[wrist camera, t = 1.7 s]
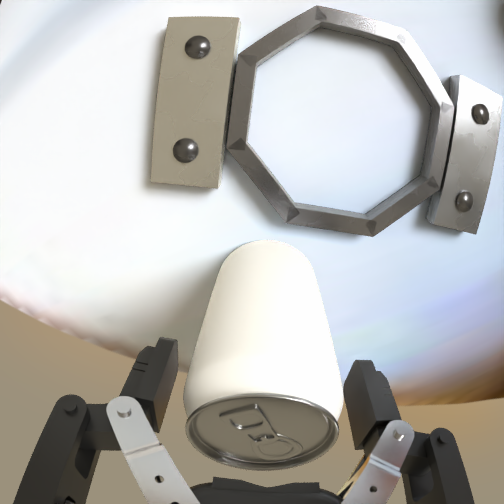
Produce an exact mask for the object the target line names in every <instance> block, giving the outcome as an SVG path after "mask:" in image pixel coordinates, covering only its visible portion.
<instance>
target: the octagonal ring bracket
mask: <svg viewBox="0 0 504 504" xmlns="http://www.w3.org/2000/svg"><path fill="white" fill-rule="evenodd" d="M319 27H321V28H326V29H331V30H335V31H339V32H344V33H348V34H352V35H356V36H359V37H363V38H367V39H370V40H374V41H377V42H380V43H383V44H387V45H390V46H392V47H393V48H394V50H395V51H396V53H397V54H398V55H399V57H400V58H401V60H402V61H403V63H404V64H405V66H406V67H407V69H408V70H409V72H410V73H411V75H412V76H413V78H414V79H415V81H416V82H417V84H418V86H419V87H420V89H421V91H422V92H423V94H424V96H425V97H426V99H427V101H428V102H429V104H430V106H431V116H430V123H429V129H428V136H427V142H426V147H425V153H424V158H423V163H422V168H421V173H420V176H418V177H417V178H416V179H414V180H413V181H411V182H410V183H409V184H407V185H406V186H404V187H403V188H402V189H400V190H399V191H397V192H396V193H395V194H393V195H392V196H390V197H389V198H388V199H386V200H385V201H383V202H382V203H380V204H379V205H378V206H376V207H375V208H373V209H372V210H370V211H369V212H368V213H366V214H362V213H356V212H350V211H345V210H339V209H333V208H327V207H320V206H314V205H308V204H301V203H295V202H294V201H293V200H292V199H291V197H290V196H289V195H288V193H287V192H286V191H285V189H284V188H283V187H282V185H281V184H280V183H279V182H278V180H277V179H276V178H275V176H274V175H273V174H272V172H271V171H270V170H269V169H268V167H267V166H266V165H265V164H264V162H263V161H262V160H261V158H260V157H259V156H258V155H257V153H256V152H255V151H254V150H253V148H252V147H251V146H250V145H249V143H248V142H247V140H248V132H249V124H250V116H251V108H252V101H253V93H254V85H255V78H256V71H257V67H258V66H259V65H260V64H262V63H263V62H265V61H266V60H268V59H269V58H271V57H272V56H274V55H275V54H277V53H278V52H280V51H281V50H283V49H284V48H286V47H287V46H289V45H291V44H292V43H294V42H295V41H297V40H299V39H300V38H302V37H303V36H305V35H307V34H308V33H310V32H312V31H314V30H315V29H317V28H319ZM240 28H241V22H240V19H239V18H235V17H169V19H168V24H167V30H166V36H165V42H164V48H163V54H162V61H161V68H160V76H159V84H158V92H157V101H156V111H155V122H154V134H153V148H152V165H151V182H155V183H167V184H177V185H188V186H197V187H207V188H216V189H218V188H219V186H220V185H221V179H222V169H223V160H224V150H225V141H226V133H227V124H228V116H229V108H230V100H231V92H232V84H233V77H234V69H235V62H236V55H237V48H238V41H239V34H240ZM502 99H503V97H501V96H499V95H498V94H496V93H494V92H492V91H491V90H489V89H487V88H485V87H483V86H481V85H480V84H478V83H476V82H474V81H472V80H470V79H468V78H466V77H464V76H462V75H455V76H451V79H450V91H449V96H448V94H447V92H446V91H445V89H444V87H443V85H442V84H441V82H440V80H439V78H438V77H437V75H436V73H435V72H434V70H433V69H432V67H431V65H430V64H429V62H428V61H427V59H426V58H425V56H424V55H423V53H422V52H421V50H420V49H419V47H418V46H417V44H416V43H415V41H414V40H413V39H412V37H411V36H410V34H409V33H408V32H407V30H404V29H401V28H398V27H396V26H393V25H390V24H387V23H384V22H380V21H377V20H374V19H371V18H367V17H364V16H360V15H356V14H353V13H349V12H345V11H340V10H336V9H332V8H327V7H322V6H317V5H316V6H315V7H313V8H311V9H309V10H307V11H306V12H304V13H302V14H300V15H299V16H297V17H295V18H293V19H292V20H290V21H288V22H287V23H285V24H283V25H282V26H280V27H279V28H277V29H275V30H274V31H272V32H271V33H269V34H268V35H266V36H264V37H263V38H261V39H260V40H258V41H257V42H255V43H254V44H253V45H251V46H250V47H248V48H247V49H245V50H244V51H242V52H241V53H240V54H238V61H237V68H236V75H235V83H234V90H233V98H232V106H231V114H230V122H229V131H228V139H227V148H226V149H227V150H228V151H229V152H230V153H231V155H232V156H233V157H234V158H235V160H236V161H237V162H238V163H239V165H240V166H241V167H242V168H243V169H244V171H245V172H246V173H247V174H248V176H249V177H250V178H251V179H252V181H253V182H254V183H255V184H256V186H257V187H258V188H259V189H260V191H261V192H262V193H263V195H264V196H265V197H266V198H267V200H268V201H269V202H270V203H271V205H272V206H273V207H274V209H275V210H276V211H277V212H278V214H279V215H280V216H281V218H282V219H283V220H284V222H285V223H286V224H293V225H300V226H307V227H314V228H321V229H327V230H334V231H340V232H347V233H353V234H359V235H365V236H371V237H373V236H375V235H376V234H378V233H379V232H381V231H382V230H384V229H385V228H386V227H388V226H389V225H391V224H392V223H394V222H395V221H396V220H398V219H399V218H401V217H402V216H403V215H405V214H406V213H408V212H409V211H410V210H412V209H413V208H415V207H416V206H417V205H419V204H420V203H421V202H423V201H424V200H426V199H427V198H428V197H430V196H431V195H432V196H431V200H430V204H429V208H428V211H427V215H426V219H427V220H428V221H429V222H431V223H432V224H434V225H438V226H442V227H447V228H451V229H455V230H460V231H464V232H468V233H472V234H476V233H477V229H478V226H479V223H480V219H481V216H482V212H483V209H484V205H485V201H486V197H487V193H488V189H489V185H490V180H491V175H492V171H493V166H494V160H495V155H496V149H497V143H498V136H499V129H500V120H501V111H502Z"/></svg>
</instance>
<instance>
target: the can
mask: <svg viewBox="0 0 504 504" xmlns="http://www.w3.org/2000/svg"><path fill="white" fill-rule="evenodd" d="M183 400H184V406H185V410H186V414H187V417H188V419H187V422H186V426H185V427H186V428H185V431H186V435H187V438H188V440H189V441H190V443H191V444H192V445H193V447H194V448H196V449H197V450H198V451H199V452H200V453H202V454H203V455H205V456H206V457H208V458H210V459H212V460H214V461H216V462H218V463H221V464H224V465H228V466H231V467H235V468H240V469H246V470H257V471H271V470H282V469H288V468H293V467H297V466H301V465H304V464H306V463H309V462H311V461H313V460H316V459H317V458H319V457H321V456H322V455H324V454H325V453H326V452H328V451H329V450H330V449H331V448H332V447H333V445H334V444H335V443H336V441H337V438H338V435H339V426H338V423H337V421H338V419H339V416H340V413H341V410H342V406H343V389H342V383H341V378H340V373H339V368H338V364H337V359H336V355H335V350H334V346H333V342H332V338H331V334H330V330H329V326H328V322H327V318H326V314H325V310H324V306H323V302H322V299H321V295H320V291H319V287H318V284H317V280H316V277H315V274H314V271H313V268H312V266H311V264H310V262H309V261H308V259H307V258H306V257H305V256H304V255H303V254H302V253H301V252H300V251H299V250H297V249H296V248H294V247H292V246H291V245H288V244H286V243H283V242H280V241H274V240H258V241H253V242H250V243H247V244H244V245H242V246H240V247H239V248H237V249H236V250H234V251H233V252H232V253H231V254H230V255H229V256H228V257H227V258H226V259H225V261H224V262H223V264H222V266H221V268H220V271H219V273H218V276H217V279H216V282H215V285H214V288H213V292H212V295H211V298H210V301H209V304H208V307H207V311H206V314H205V317H204V320H203V324H202V327H201V330H200V334H199V337H198V340H197V344H196V347H195V350H194V354H193V357H192V361H191V364H190V368H189V371H188V375H187V379H186V383H185V388H184V395H183Z"/></svg>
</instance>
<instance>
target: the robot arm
mask: <svg viewBox="0 0 504 504" xmlns="http://www.w3.org/2000/svg"><path fill="white" fill-rule="evenodd" d="M177 371H178V344H177V340H175V339H169V338H164V337H160V338H159V340H158V343H157V345H156V347H151V346H147V347H146V348H144V349H143V350H142V351H141V352H140V353H139V355H138V357H137V359H136V362H135V363H134V365H133V367H132V370H131V372H130V374H129V376H128V378H127V380H126V383H125V385H124V387H123V389H122V391H121V393H120V395H119V397H116V398H114V399H112V400H111V401H110V402H109V403H107V404H86V403H85V401H84V400H83V399H82V398H81V397H79V396H77V395H66V396H63V397H61V398H60V399H59V400H58V401H57V402H56V404H55V406H54V408H53V411H52V412H51V415H50V417H49V419H48V421H47V423H46V425H45V427H44V429H43V431H42V434H41V436H40V438H39V440H38V443H37V445H36V447H35V449H34V452H33V454H32V456H31V459H30V461H29V463H28V466H27V468H26V471H25V473H24V476H23V478H22V481H21V484H20V486H19V489H18V492H17V495H16V497H15V500H14V503H13V504H85V503H86V499H87V495H88V492H89V488H90V485H91V481H92V478H93V475H94V471H95V468H96V465H97V461H98V458H99V455H100V452H101V450H122V452H123V454H124V456H125V458H126V461H127V463H128V465H129V467H130V469H131V471H132V473H133V475H134V477H135V479H136V481H137V483H138V485H139V487H140V489H141V491H142V493H143V495H144V497H145V498H146V500H147V502H148V504H386V503H387V501H388V499H389V497H390V496H391V494H392V492H393V490H394V488H395V486H396V484H397V482H398V480H399V478H400V476H401V473H402V478H403V483H404V488H405V495H406V500H407V504H474V500H473V496H472V492H471V489H470V485H469V482H468V478H467V475H466V471H465V468H464V465H463V462H462V459H461V456H460V453H459V450H458V446H457V443H456V441H455V438H454V436H453V434H452V433H451V432H450V431H449V430H447V429H444V428H437V429H435V430H433V431H432V432H431V434H425V433H420V432H415V431H414V430H413V428H412V427H411V425H409V424H408V423H407V422H405V421H402V420H401V417H400V414H399V411H398V408H397V405H396V402H395V399H394V397H393V396H392V391H391V389H390V386H389V383H388V380H387V378H386V377H385V376H384V375H383V374H382V373H381V371H376V370H375V367H374V364H373V362H372V361H371V360H355V361H354V363H353V365H352V367H351V370H350V372H349V374H348V376H347V378H346V380H345V383H344V388H343V393H344V398H345V403H346V407H347V411H348V417H349V421H350V426H351V431H352V436H353V441H354V446H355V450H361V449H364V453H365V454H364V455H363V457H362V458H361V460H360V461H359V463H358V464H357V466H356V467H355V469H354V470H353V472H352V474H351V475H350V476H349V478H348V479H347V481H346V482H345V484H344V485H343V486H342V488H341V489H340V490H339V492H338V493H337V494H334V493H332V492H329V491H327V490H324V489H320V488H319V483H317V482H315V483H290V484H285V485H280V486H275V487H268V488H267V487H262V486H259V485H255V484H252V483H249V482H245V481H242V480H236V479H227V478H219V477H213V482H212V483H204V484H199V485H196V486H193V487H190V488H189V486H188V485H187V483H186V482H185V480H184V479H183V477H182V475H181V474H180V472H179V471H178V469H177V467H176V466H175V464H174V462H173V461H172V459H171V457H170V456H169V454H168V452H167V450H166V449H165V447H164V446H163V445H162V444H160V442H159V441H158V439H157V437H156V435H155V433H154V432H157V433H159V432H160V428H161V425H162V422H163V418H164V415H165V412H166V408H167V405H168V402H169V399H170V395H171V392H172V389H173V386H174V382H175V379H176V376H177Z"/></svg>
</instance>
